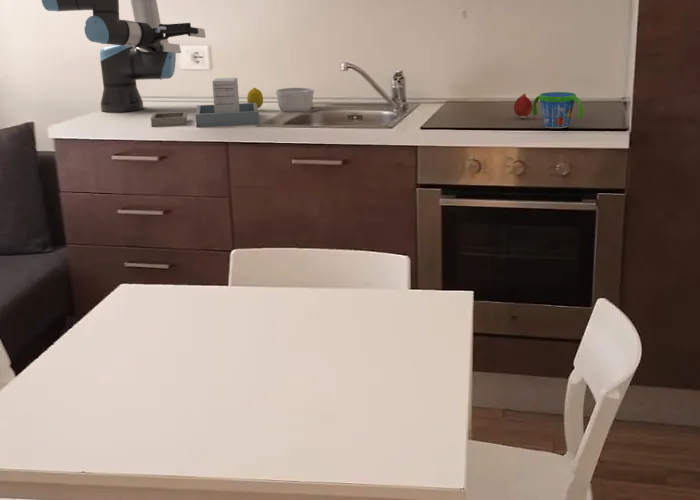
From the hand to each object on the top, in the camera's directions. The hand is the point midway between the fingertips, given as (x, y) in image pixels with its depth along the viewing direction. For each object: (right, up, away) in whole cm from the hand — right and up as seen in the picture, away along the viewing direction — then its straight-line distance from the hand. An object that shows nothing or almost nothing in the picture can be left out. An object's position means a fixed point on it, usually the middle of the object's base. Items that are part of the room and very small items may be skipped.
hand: (191, 41), depth 283 cm
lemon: (+18, -18, +28) cm, 38 cm away
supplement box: (+10, -23, +9) cm, 27 cm away
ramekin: (+32, -18, +28) cm, 46 cm away
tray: (+10, -24, +9) cm, 28 cm away
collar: (-9, -25, +8) cm, 28 cm away
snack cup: (+112, -31, -20) cm, 118 cm away
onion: (+106, -26, -3) cm, 109 cm away
